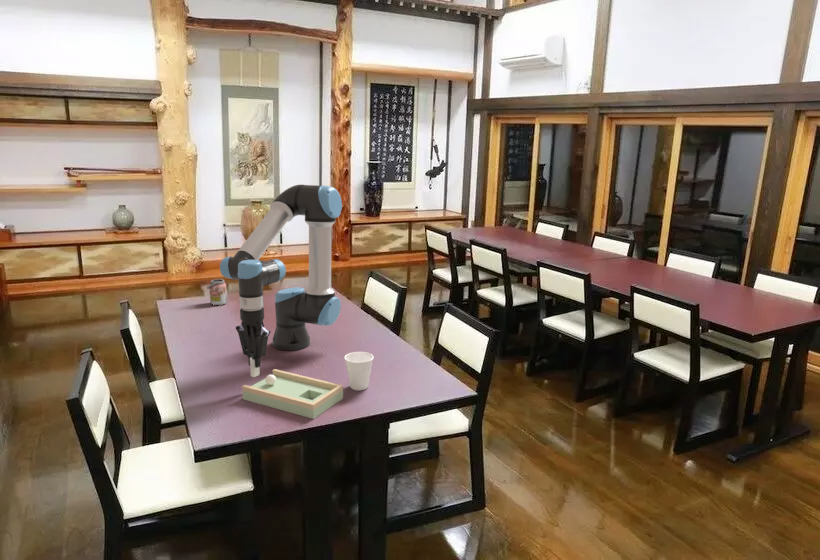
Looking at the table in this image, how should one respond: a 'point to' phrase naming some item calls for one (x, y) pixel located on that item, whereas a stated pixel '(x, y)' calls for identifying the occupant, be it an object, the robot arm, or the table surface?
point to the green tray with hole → (295, 394)
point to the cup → (359, 369)
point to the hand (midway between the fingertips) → (255, 375)
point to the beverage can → (218, 292)
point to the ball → (270, 379)
